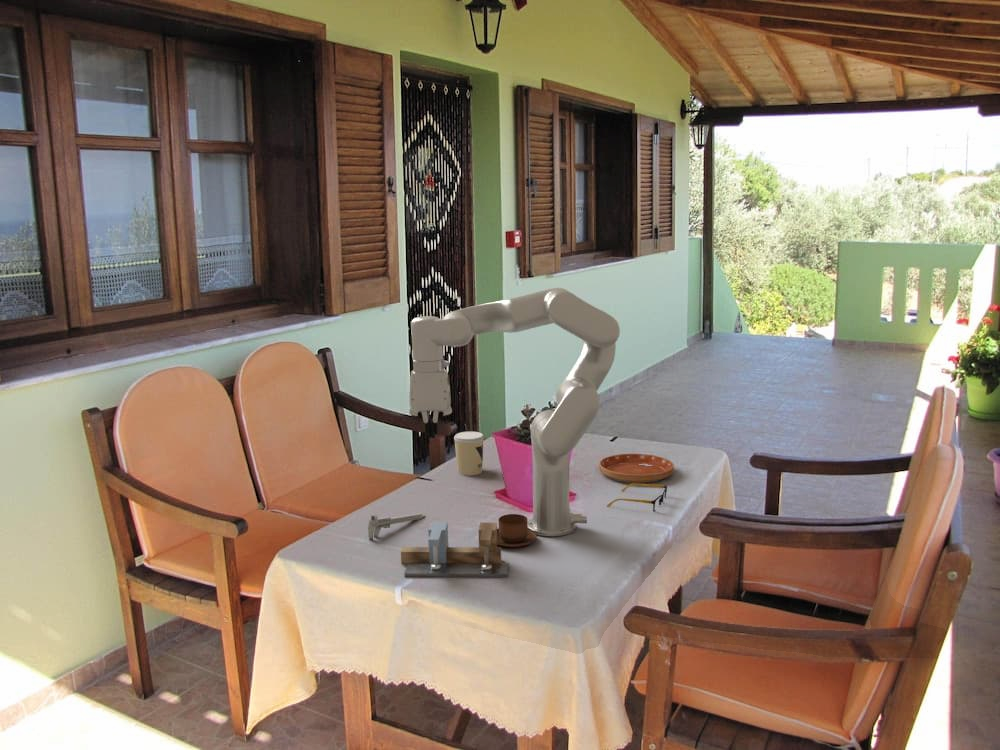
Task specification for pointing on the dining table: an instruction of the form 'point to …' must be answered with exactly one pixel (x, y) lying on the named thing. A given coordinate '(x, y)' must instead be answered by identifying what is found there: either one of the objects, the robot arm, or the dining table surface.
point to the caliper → (388, 522)
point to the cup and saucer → (514, 531)
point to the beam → (462, 550)
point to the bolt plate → (456, 570)
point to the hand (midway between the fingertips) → (431, 436)
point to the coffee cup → (469, 452)
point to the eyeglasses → (645, 500)
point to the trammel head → (438, 542)
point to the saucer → (636, 467)
